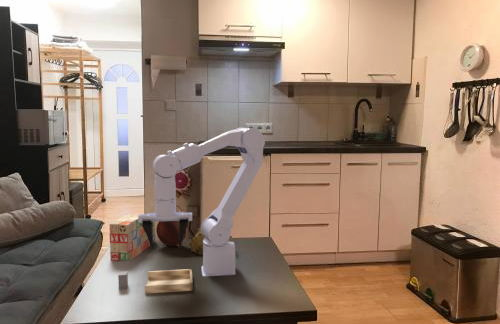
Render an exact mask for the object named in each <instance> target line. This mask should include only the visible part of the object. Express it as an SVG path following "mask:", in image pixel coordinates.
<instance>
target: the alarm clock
mask: <svg viewBox="0 0 500 324" xmlns="http://www.w3.org/2000/svg"><path fill="white" fill-rule="evenodd" d="M176 208H178V209H179V210H176V212H184V213H186V211H185V210H184V209H182V208H181V207H180V206H179V205H177V204H176ZM189 230H190V229H189V225H188V226H187V228H186V230H185V233H184V236H183V239H182V244H181V246H183V247H184V246H185V244H184V240H186V238H187V237H188V234H189ZM155 233H156V235H157V238H158V239H159V241H160V242H161V243H162V245H161V246H162V247H164V246H165V245H166V246H168V247H174V246H177V247H178V248H180V247H179V221H158V222H157V224H156V227H155Z"/></svg>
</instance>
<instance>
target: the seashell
mask: <svg viewBox="0 0 500 324" xmlns="http://www.w3.org/2000/svg"><path fill="white" fill-rule="evenodd" d="M204 238H205V235H204V234H203V233H202V231H201V227H199V228H197V232H196V233H194V236H193V238H191V240H190V241H191V242H189V244H188V245H189V246H190V251H191V253H192V252H194V253H195V254H198V255H200V256H203V240H204ZM228 242H233V236H232V235H230V238H229V240H228Z"/></svg>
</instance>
